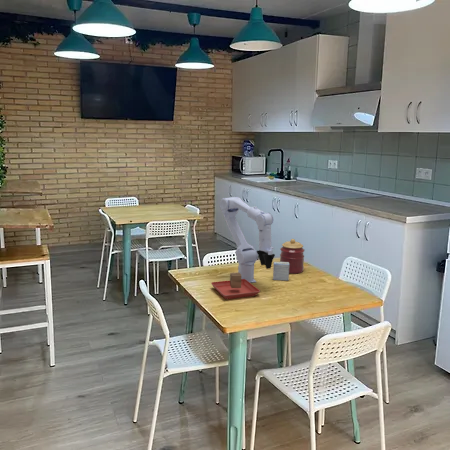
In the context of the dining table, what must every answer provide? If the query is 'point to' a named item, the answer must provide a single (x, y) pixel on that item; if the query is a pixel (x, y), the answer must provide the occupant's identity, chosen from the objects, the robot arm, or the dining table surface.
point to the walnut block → (235, 280)
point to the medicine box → (281, 271)
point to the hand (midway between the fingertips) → (265, 266)
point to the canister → (293, 256)
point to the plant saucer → (235, 289)
